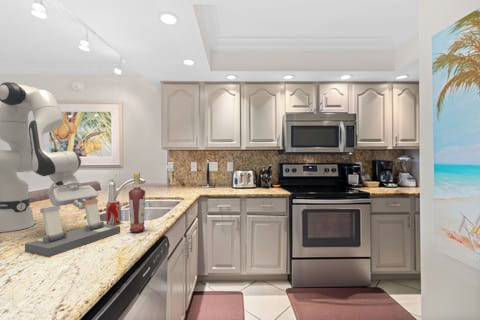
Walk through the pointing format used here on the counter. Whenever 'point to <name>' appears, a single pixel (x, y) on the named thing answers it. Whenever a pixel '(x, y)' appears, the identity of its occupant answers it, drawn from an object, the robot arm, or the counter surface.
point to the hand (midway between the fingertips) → (83, 208)
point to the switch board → (70, 240)
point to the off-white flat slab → (92, 213)
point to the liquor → (137, 206)
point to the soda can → (113, 212)
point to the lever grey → (52, 222)
